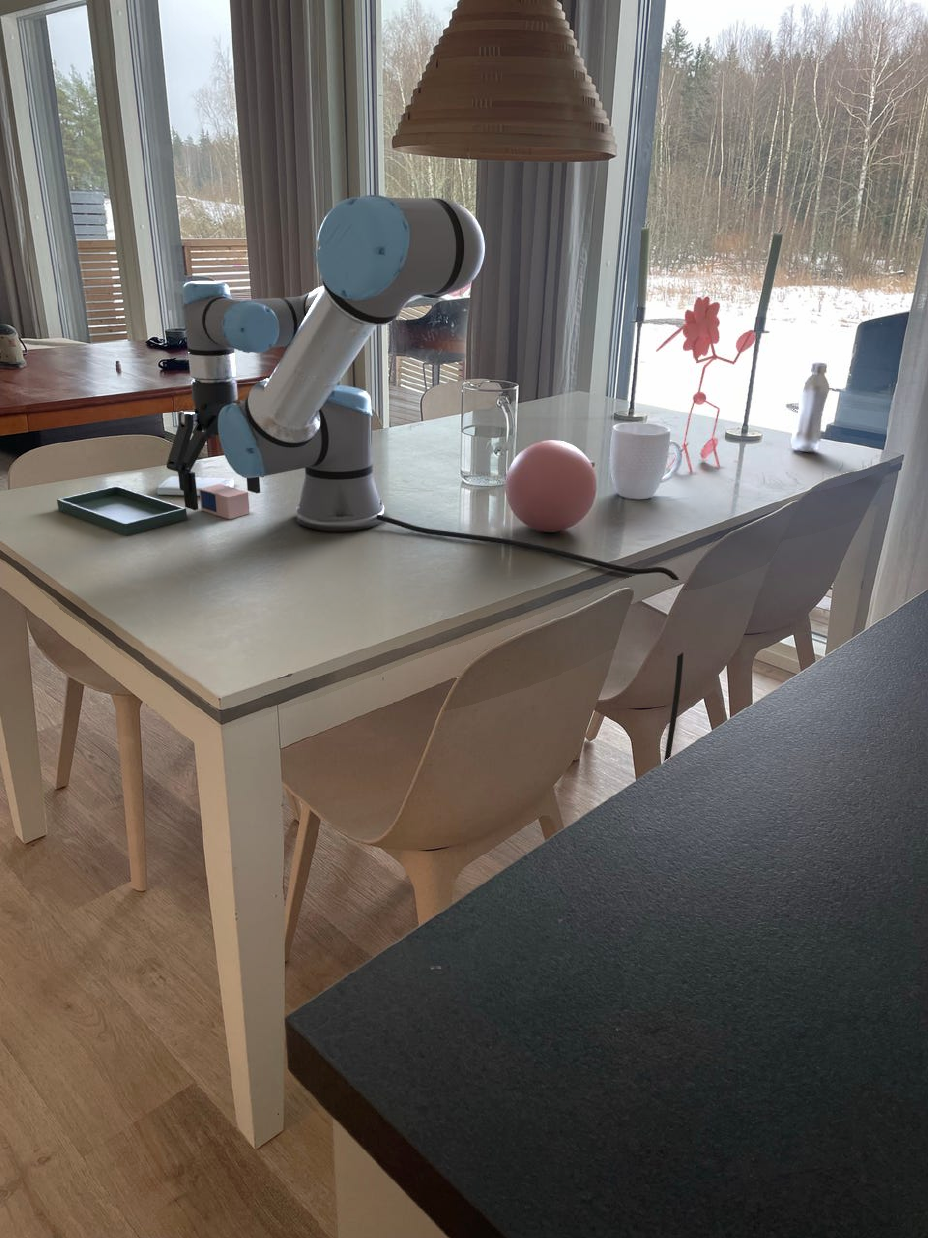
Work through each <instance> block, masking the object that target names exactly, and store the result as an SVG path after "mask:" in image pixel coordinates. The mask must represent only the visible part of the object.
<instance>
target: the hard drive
mask: <svg viewBox="0 0 928 1238" xmlns="http://www.w3.org/2000/svg"><path fill="white" fill-rule="evenodd" d="M195 479H196V489H197V497H200V492H199V489H201V488H205V487H209V486H213V485H217V484H222V485H225V486H228V487H232V488H235V487H234V486H235V479H234V478H220V477H198V476H197V477H196V476H195ZM156 495H160V496H184V491H182V490H181V489H180V486H179V477H178V476H175V475H174V476H169V477H167V478H166V479H165V480H164V481H163V482H161V483H160V484H159V485H158V486H157V487H156Z"/></svg>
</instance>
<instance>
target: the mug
mask: <svg viewBox="0 0 928 1238" xmlns="http://www.w3.org/2000/svg"><path fill="white" fill-rule="evenodd" d="M611 430H612V431H611V437H610V450H609V451H610V452H609V454H610V455H609V469H610V470H609V472H610V476H611V481H612V485H613V487H614V489H615V491H616V493H617V494H618V495H619V496H620V497H621V498H625V499H628V500H646V499H647V500H648V499H650V498H652V497H653V496H654V495H655V494H656V492H657V490H658V489H659V487H660V485H661V484H662V483H665V482H668V481H669V480H671V479H673V478H674V477H675V476H676V475H677V474H678V472H679V470H680V468H681V465H682V460H683V451H681V450H682V449H681V448H682V447H681V446H680V445H679V444H678V443H677V441H675V440H673V439H671V431H672V430H671V429H670V427H667V426H665V425H661V424H656V423H648V422H647V423H646V422H623V423H617V424H614V425H613V426H612V429H611ZM670 446H672V447H673V449H674V452H675V457H676V458H675V457H674V458H675V461H674V462H673V466H672V468H671V469H670V471H669V472H668V473H666V474H665V472H666V468H667V464H668V458H669V455H670V453H669V451H670Z"/></svg>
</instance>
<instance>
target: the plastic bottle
mask: <svg viewBox="0 0 928 1238" xmlns="http://www.w3.org/2000/svg"><path fill="white" fill-rule="evenodd" d="M827 369H828V364H827V363H825V362H810V364H809V369H808V372H809V374H808V375H806V377H805V378H804V379H803V380H802V382H801V383H800V386H799V403H798V412H797V419H796V422H795V427H794V430H793V431H792V434H791V440H790V441H791V442H790V445H791V447H792V449H793V450H796V451H799V452H803V453H808V452H815V451H816V450H817V449H818V448H819V446H820V445H821V444H820V443H821V438H822V436H821V433H822V432H821V429H822V427H821V426H822V417H823V412H824V408H825V404H826V401H827V398H828V394H829V392H830V384H829V382H828V379H827V377H826V375H825V374H826V373H827Z"/></svg>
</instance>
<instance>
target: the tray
mask: <svg viewBox="0 0 928 1238" xmlns="http://www.w3.org/2000/svg"><path fill="white" fill-rule="evenodd" d="M56 504H57V508H58V511H60V512H63V513H64V514H67V515H71V516H72V517H75V518H79V519H82V520H83V521H86V522H89V523H92V524H94V525H97V526H99V527H102V528H105V529H107V530H109V531H113V532H115V533H118V534H121V535H123V536H127V537H128V536H131V535H134V534H138V533H143V532H146V531H150V530H153V529H156V528H160V527H164V526H168V525H171V524H174V523H179V522H182V521H186V520H188V513H187V512H188V511H187V508H186V507H185V506H181V505H178V504H174V503H171V502H168V501H165V500H162V499H159V498H155V497H153V496H149V495H147V494H143V493H140V492H137V491H135V490H131V489H129V488H126V487H122V486H119V485H115V486H110V487H106V488H101V489H97V490H94V491H88V492H84V493H79V494H74V495H70V496H66V497H61V498H57V499H56Z"/></svg>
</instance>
